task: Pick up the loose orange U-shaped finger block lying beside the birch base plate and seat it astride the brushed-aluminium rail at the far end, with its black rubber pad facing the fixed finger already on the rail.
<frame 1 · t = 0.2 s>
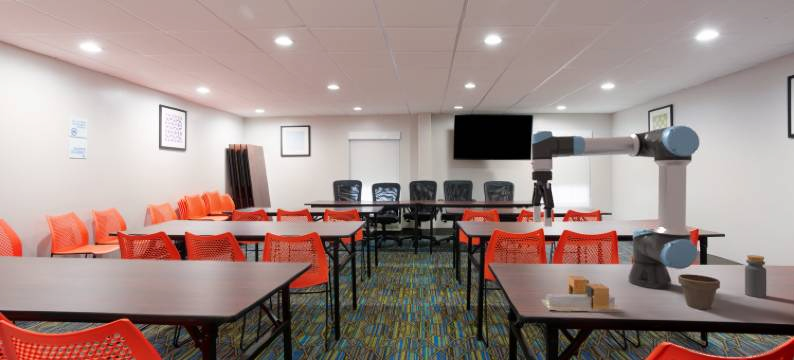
hand: (542, 224, 147), 27 cm above the table, fingers open, 13 cm apart
rail: (579, 307, 130), on the table
flower pot: (698, 306, 130), on the table
bottle: (755, 296, 141), on the table
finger: (577, 294, 144), on the table
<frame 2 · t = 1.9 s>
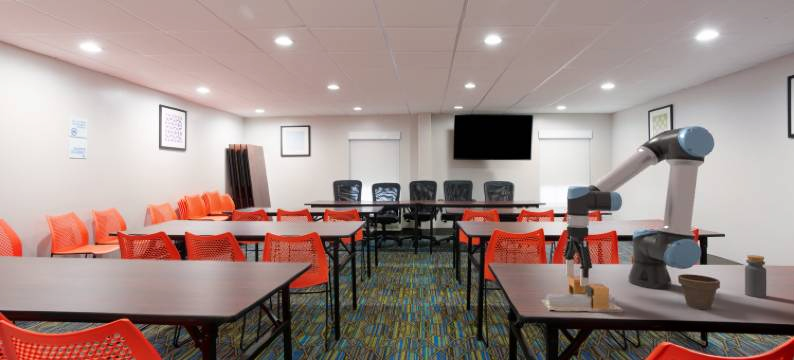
hand: (576, 280, 144), 5 cm above the table, fingers open, 13 cm apart
nothing on the table moved.
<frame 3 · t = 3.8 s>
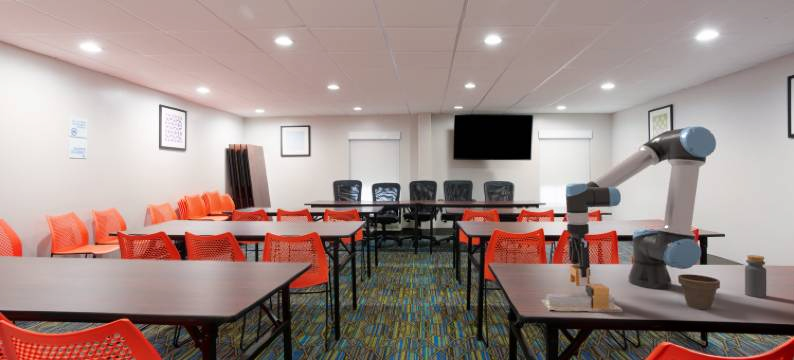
hand: (579, 282, 144), 5 cm above the table, fingers closed on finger, 6 cm apart
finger: (579, 283, 144), point 4 cm above the table, touching gripper
everything else where it was.
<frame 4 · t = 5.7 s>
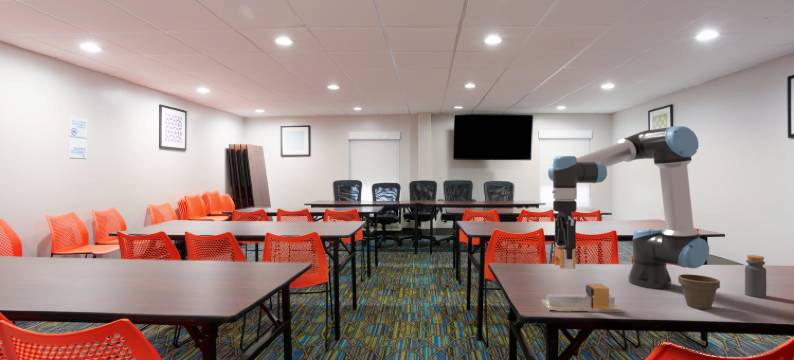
hand: (564, 265, 130), 14 cm above the table, fingers closed on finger, 6 cm apart
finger: (564, 266, 130), point 14 cm above the table, touching gripper
everything else where it was.
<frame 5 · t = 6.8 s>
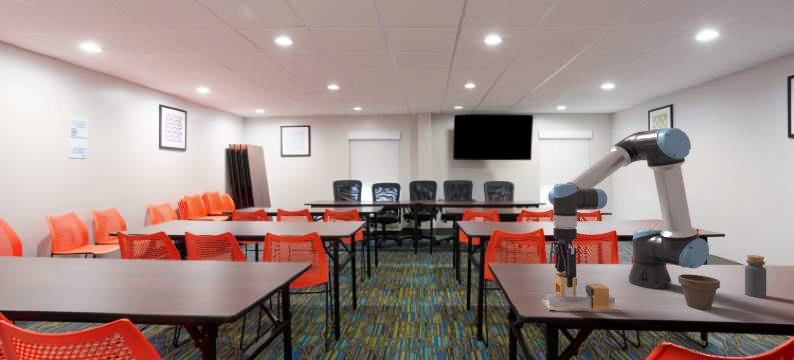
hand: (565, 293, 130), 5 cm above the table, fingers closed on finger, 6 cm apart
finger: (565, 293, 130), point 5 cm above the table, touching gripper
everything else where it was.
when the fingers open (2 cm above the table, at t = 7.7 s): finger stays where it is, resting on rail.
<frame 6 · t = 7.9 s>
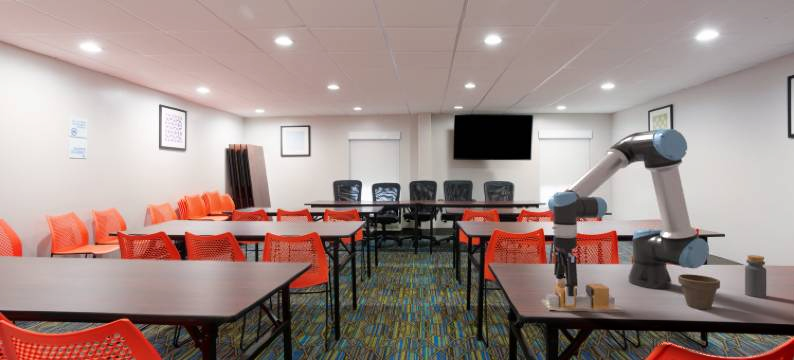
hand: (565, 300, 130), 2 cm above the table, fingers open, 7 cm apart
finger: (565, 303, 131), point 1 cm above the table, touching rail
everything else where it was.
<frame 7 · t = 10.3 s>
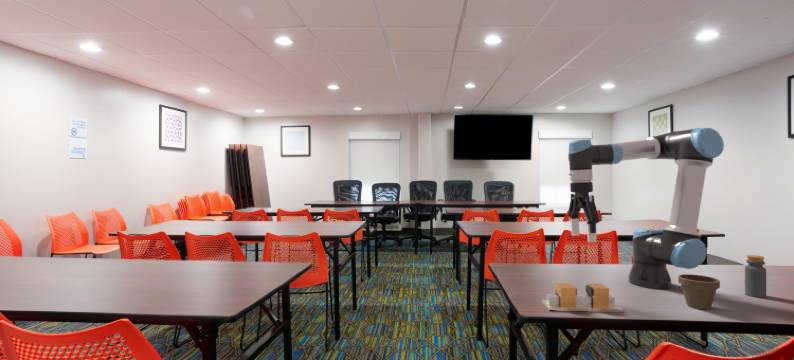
hand: (583, 238, 138), 23 cm above the table, fingers open, 13 cm apart
nothing on the table moved.
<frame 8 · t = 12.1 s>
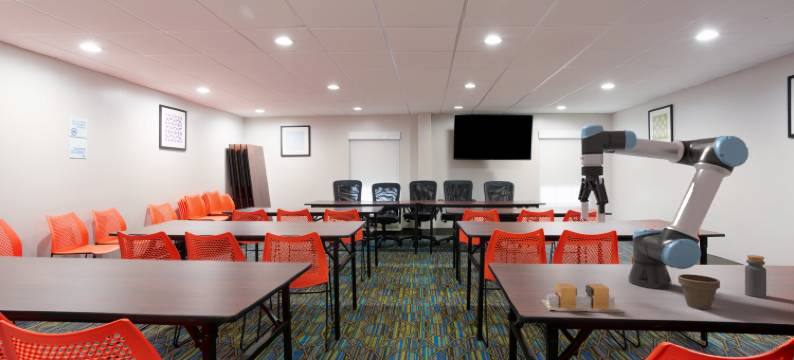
hand: (592, 220, 144), 29 cm above the table, fingers open, 13 cm apart
nothing on the table moved.
at the end: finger 0.5 cm from the target spot on the rail, point 1.0 cm above the rail's base; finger tilted 0°; the gripper is holding nothing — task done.
